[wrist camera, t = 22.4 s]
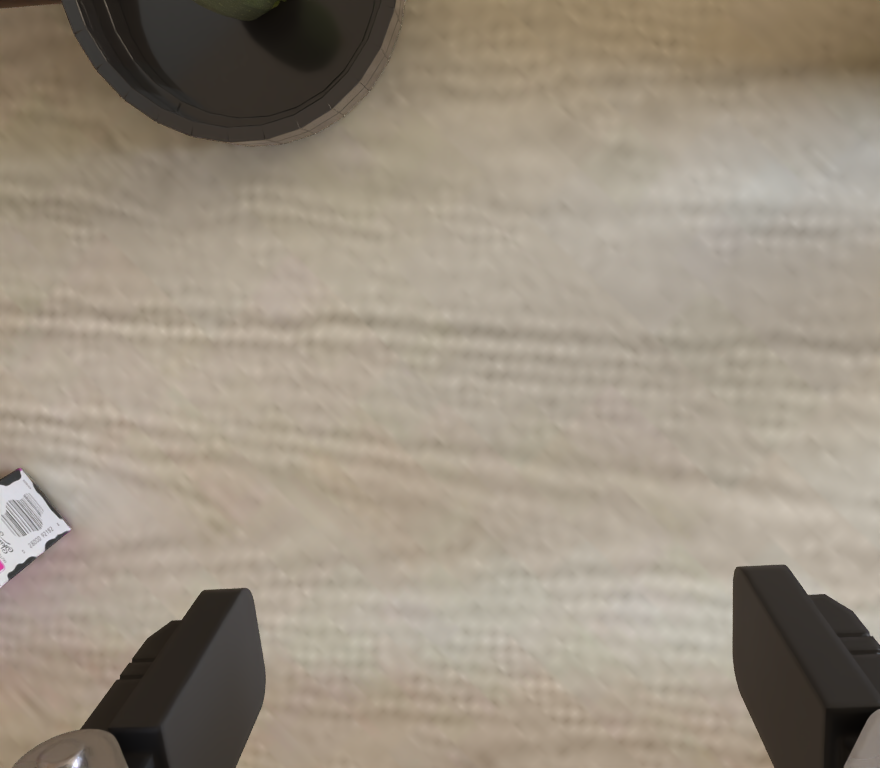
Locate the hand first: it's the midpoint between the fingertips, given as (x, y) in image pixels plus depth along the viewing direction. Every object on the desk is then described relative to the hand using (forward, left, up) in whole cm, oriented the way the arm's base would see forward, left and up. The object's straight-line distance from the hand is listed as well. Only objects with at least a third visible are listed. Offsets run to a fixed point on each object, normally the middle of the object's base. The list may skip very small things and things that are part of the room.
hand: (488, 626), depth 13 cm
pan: (+10, -17, -31) cm, 37 cm away
